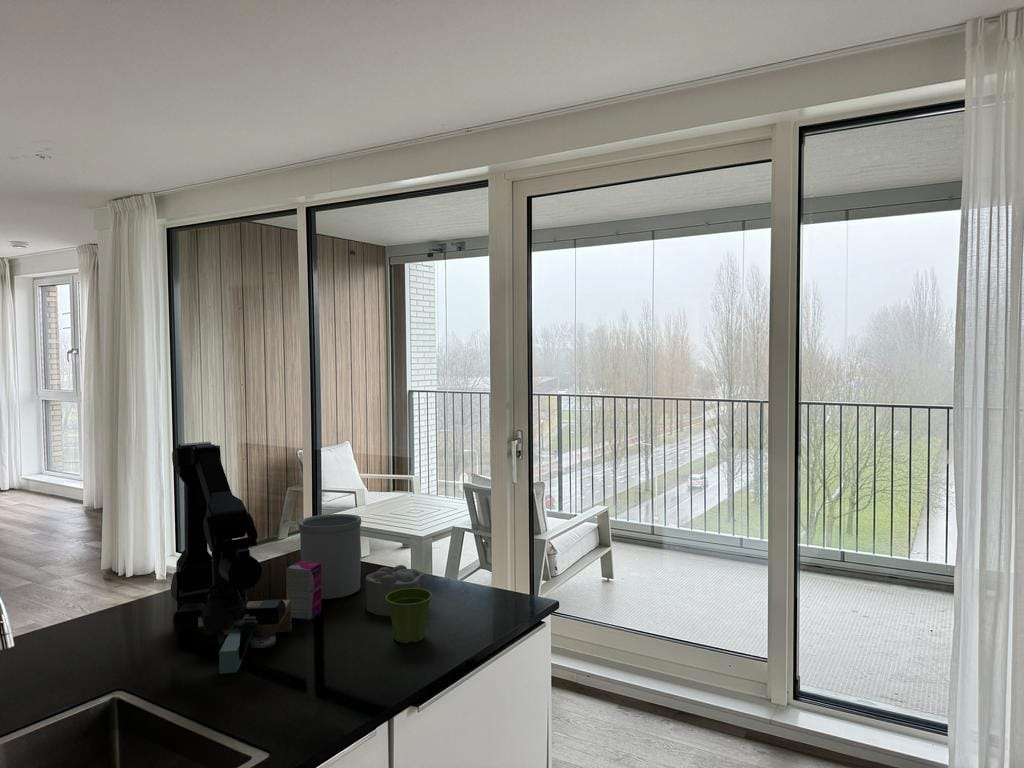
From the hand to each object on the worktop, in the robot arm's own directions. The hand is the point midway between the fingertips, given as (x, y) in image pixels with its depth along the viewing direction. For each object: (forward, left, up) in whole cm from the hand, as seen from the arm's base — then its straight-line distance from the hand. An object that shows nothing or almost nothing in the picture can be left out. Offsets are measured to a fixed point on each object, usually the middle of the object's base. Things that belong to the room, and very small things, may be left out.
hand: (231, 659), depth 128 cm
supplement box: (+8, +25, -2) cm, 26 cm away
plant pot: (+32, +10, -2) cm, 33 cm away
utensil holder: (+11, +42, -2) cm, 43 cm away
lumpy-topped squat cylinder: (+27, +28, -2) cm, 39 cm away
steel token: (+3, +10, -2) cm, 11 cm away
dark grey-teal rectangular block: (-1, +5, -1) cm, 5 cm away
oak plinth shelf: (-1, +12, -1) cm, 12 cm away
